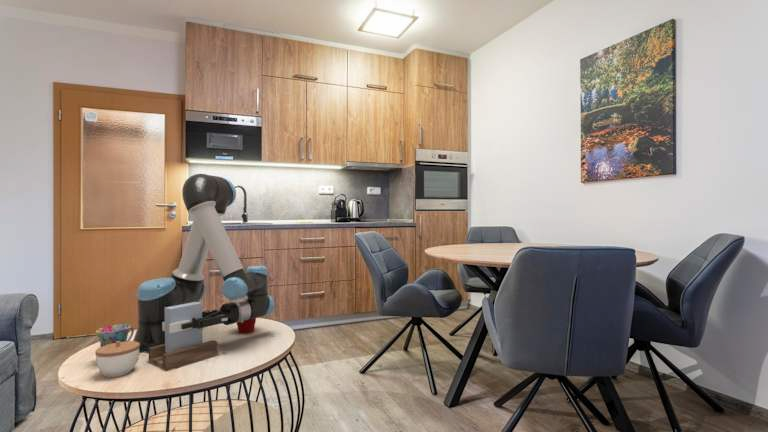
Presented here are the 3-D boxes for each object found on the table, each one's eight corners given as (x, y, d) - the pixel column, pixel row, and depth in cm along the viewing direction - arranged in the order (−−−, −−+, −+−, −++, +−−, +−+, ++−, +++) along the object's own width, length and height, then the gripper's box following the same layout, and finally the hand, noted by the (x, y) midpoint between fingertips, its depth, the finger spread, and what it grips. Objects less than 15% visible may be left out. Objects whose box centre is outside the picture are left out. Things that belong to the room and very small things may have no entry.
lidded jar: (116, 365, 118) (116, 335, 118) (148, 366, 117) (148, 336, 117) (85, 380, 107) (85, 346, 107) (120, 381, 106) (120, 347, 106)
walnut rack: (148, 361, 121) (148, 347, 121) (198, 347, 133) (198, 335, 133) (166, 371, 113) (166, 355, 113) (217, 355, 126) (217, 341, 126)
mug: (112, 367, 116) (112, 333, 116) (88, 365, 118) (87, 331, 118) (145, 354, 128) (144, 322, 128) (121, 352, 130) (121, 321, 130)
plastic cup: (236, 328, 157) (235, 299, 157) (262, 327, 158) (262, 298, 158) (227, 336, 146) (227, 305, 147) (256, 335, 147) (255, 304, 147)
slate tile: (165, 351, 120) (164, 307, 120) (196, 343, 128) (195, 301, 128) (171, 354, 118) (170, 309, 118) (202, 345, 126) (201, 303, 126)
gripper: (248, 326, 132) (179, 344, 114) (222, 319, 143) (154, 335, 124) (248, 304, 132) (178, 319, 114) (221, 299, 143) (154, 312, 124)
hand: (166, 327), depth 119 cm, fingers closed on slate tile, 4 cm apart
